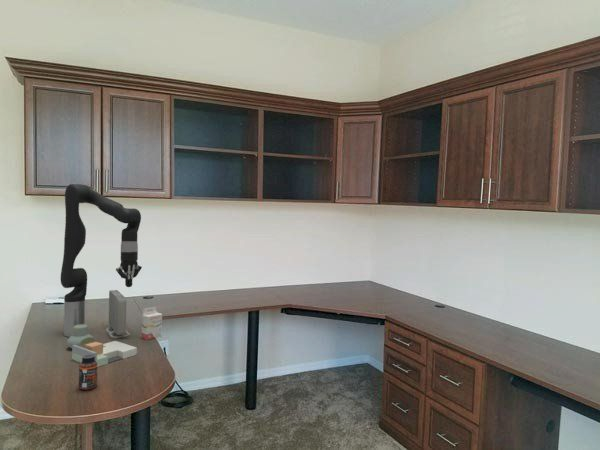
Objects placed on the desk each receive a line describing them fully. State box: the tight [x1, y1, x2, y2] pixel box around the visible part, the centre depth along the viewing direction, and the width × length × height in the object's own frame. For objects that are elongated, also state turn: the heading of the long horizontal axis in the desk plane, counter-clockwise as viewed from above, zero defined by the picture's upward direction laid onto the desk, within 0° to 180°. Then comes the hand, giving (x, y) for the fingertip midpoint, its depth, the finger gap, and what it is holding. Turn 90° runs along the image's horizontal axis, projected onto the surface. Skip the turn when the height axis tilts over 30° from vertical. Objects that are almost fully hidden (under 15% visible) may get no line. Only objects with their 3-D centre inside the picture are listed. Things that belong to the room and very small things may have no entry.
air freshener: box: [66, 323, 95, 349], centre depth 194 cm, size 11×8×10 cm
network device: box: [105, 289, 130, 339], centre depth 218 cm, size 26×9×20 cm, turn 33°
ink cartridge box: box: [141, 306, 163, 341], centre depth 211 cm, size 9×5×15 cm, turn 141°
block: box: [85, 341, 104, 355], centre depth 178 cm, size 5×5×4 cm
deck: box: [71, 340, 138, 368], centre depth 183 cm, size 16×20×6 cm
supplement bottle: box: [78, 355, 98, 391], centre depth 152 cm, size 6×6×11 cm
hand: (128, 286), depth 201 cm, fingers closed
